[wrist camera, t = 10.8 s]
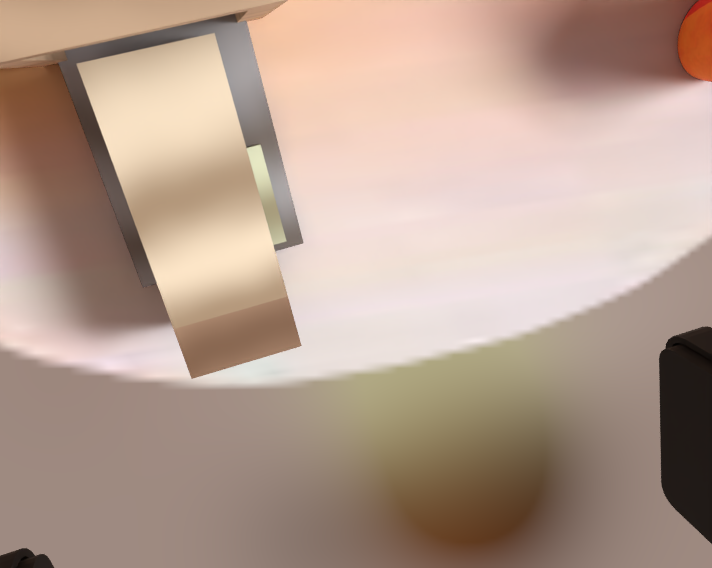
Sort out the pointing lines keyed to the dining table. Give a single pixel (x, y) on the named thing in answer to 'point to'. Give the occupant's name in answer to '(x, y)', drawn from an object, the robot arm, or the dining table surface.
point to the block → (193, 199)
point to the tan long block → (139, 31)
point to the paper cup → (697, 41)
